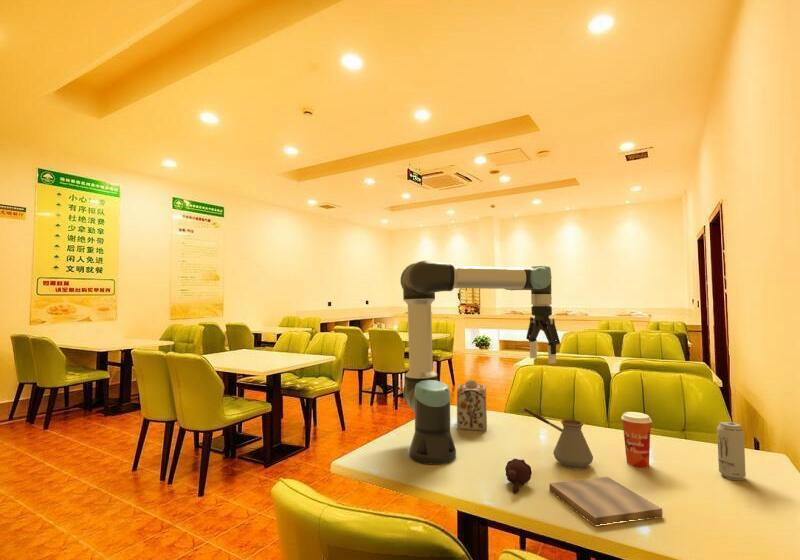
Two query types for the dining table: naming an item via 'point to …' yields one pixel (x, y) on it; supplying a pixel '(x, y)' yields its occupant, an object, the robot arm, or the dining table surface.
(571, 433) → the coffee pot
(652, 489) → the dining table surface
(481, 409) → the decorative jar
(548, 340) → the robot arm
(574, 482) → the serving board
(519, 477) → the icecream
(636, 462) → the coffee cup
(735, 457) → the energy drink can
